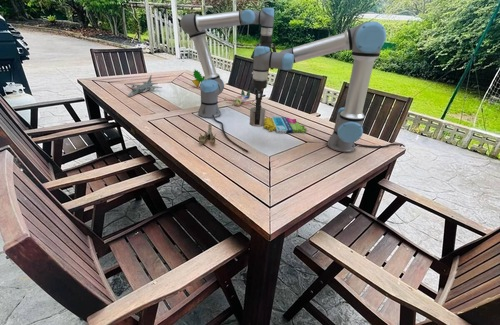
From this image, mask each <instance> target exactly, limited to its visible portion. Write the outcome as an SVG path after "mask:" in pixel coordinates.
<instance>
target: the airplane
mask: <svg viewBox="0 0 500 325" xmlns="http://www.w3.org/2000/svg"><path fill="white" fill-rule="evenodd" d="M152 76H153V74H151V75H150V76H149V78H148V79H147V82H146V81H142V84H136V83H135V84H134V83H128V85H130V86H131V87H130V89H132V90H131V91H130V92H129V93H128V95H127V96H126V98H128V97H133V96H135V95H137V94H139V93H146V92H147V91H148V92H149V90H150V91H153V90H155V89H157V88H159V89H162V88H163V86H155V85H159V82H158V83H157V82H153V81H152Z"/></svg>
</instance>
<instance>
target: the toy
mask: <svg viewBox="0 0 500 325" xmlns="http://www.w3.org/2000/svg"><path fill="white" fill-rule="evenodd" d="M240 92H241V93H240V95H238V96H237V97H235V99H233V98H230V99H228V98H227V97H226V96H225V97H224V98H223V101H224V102H233V103H232V104H233V105H235V106H242V103H243V104H247V105H252V106H255V105H256V102H254V101H253V100H252V101H251V102H250V101H248V100H246V99H248V98H250V97H251V90H250V89H249V90H248V91H247V92H246V93H245V91H244V89H242V90H241V91H240Z"/></svg>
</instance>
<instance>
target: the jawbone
mask: <svg viewBox="0 0 500 325" xmlns="http://www.w3.org/2000/svg"><path fill="white" fill-rule="evenodd" d="M212 126H213V124H212V123H209V124H208V126H207V127H208V129H207V131H205V132H204V134H203V135H202V133H201V132H198V133H199V136H198V142H199V143H198V145H200V146H202V145H204V143H206V142H207V141H210V143H211V145H212V146H216V141H217V140H216V134H213V130H212Z"/></svg>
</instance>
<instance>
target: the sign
mask: <svg viewBox="0 0 500 325" xmlns="http://www.w3.org/2000/svg"><path fill="white" fill-rule="evenodd" d="M263 129H266V130H268V131H269V132H270V133H271V132H273V131H276V133H277V134H293V133H301V134H305V132H306V131H307V128H306V127H305V125H304V124H300V122H297V118H289V117H286V116H271V117H270V116H269V117H265V121H264V126H263Z"/></svg>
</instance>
